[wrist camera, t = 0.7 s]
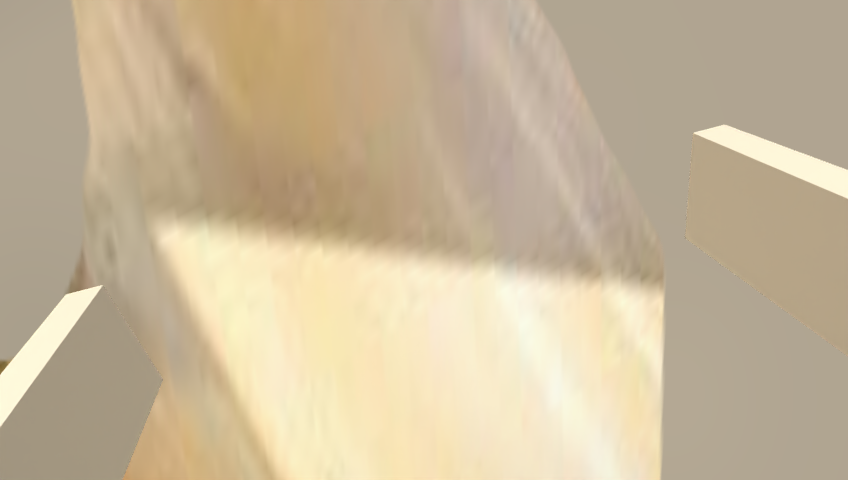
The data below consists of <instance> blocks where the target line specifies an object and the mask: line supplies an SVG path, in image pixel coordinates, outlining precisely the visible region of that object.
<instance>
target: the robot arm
mask: <svg viewBox="0 0 848 480" xmlns="http://www.w3.org/2000/svg"><path fill="white" fill-rule="evenodd" d="M685 238H686V239H687V240H688V241H690V242H691V243H692V244H694V245H695V246H696V247H698V248H699V249H701V250H702V251H703V252H705V253H706V254H707V255H709V256H710V257H712V258H713V259H714V260H716V261H717V262H718V263H720V264H721V265H723V266H724V267H725V268H727V269H728V270H729V271H731V272H732V273H734V274H735V275H736V276H738V277H739V278H741V279H742V280H743V281H745V282H746V283H747V284H749V285H750V286H751V287H753V288H754V289H756V290H757V291H758V292H760V293H761V294H762V295H764V296H765V297H767V298H768V299H769V300H771V301H772V302H773V303H775V304H776V305H778V306H779V307H780V308H782V309H783V310H785V311H786V312H787V313H789V314H790V315H791V316H793V317H794V318H796V319H797V320H798V321H800V322H801V323H803V324H804V325H805V326H806V327H808V328H809V329H811V330H812V331H813V332H815V333H816V334H817V335H819V336H820V337H822V338H823V339H825V340H826V341H827V342H828V343H830V344H831V345H833V346H834V347H835V348H837V349H838V350H839V351H841V352H842V353H844V354H845V355H846V356H848V170H846V169H843V168H841V167H838V166H835V165H832V164H830V163H827V162H824V161H822V160H819V159H816V158H814V157H811V156H808V155H805V154H803V153H800V152H797V151H795V150H792V149H789V148H786V147H784V146H781V145H778V144H775V143H773V142H770V141H767V140H765V139H762V138H759V137H757V136H754V135H751V134H748V133H746V132H743V131H740V130H738V129H735V128H732V127H730V126H727V125H722V126H718V127H714V128H710V129H706V130H702V131H698V132H695V133H693V137H692V150H691V164H690V178H689V191H688V205H687V217H686V231H685ZM162 381H163V378H162V377H161V375H160V374H159V372H158V371H157V369H156V367H155V366H154V364H153V363H152V361H151V360H150V358H149V356H148V355H147V353H146V352H145V350H144V349H143V347H142V345H141V344H140V342H139V341H138V339H137V338H136V336H135V334H134V333H133V331H132V330H131V328H130V326H129V325H128V323H127V322H126V320H125V319H124V317H123V315H122V314H121V312H120V311H119V309H118V308H117V306H116V304H115V303H114V301H113V300H112V298H111V297H110V295H109V293H108V292H107V290H106V289H105V287H104V286H103V285H101V286H97V287H93V288H90V289H86V290H82V291H78V292H74V293H70V294H66V295H65V297H64V298H63V299H62V300H61V301H60V303H59V304H58V305H57V306H56V307H55V309H54V310H53V311H52V312H51V314H50V315H49V316H48V317H47V319H46V320H45V321H44V322H43V323H42V325H41V326H40V327H39V328H38V329H37V331H36V332H35V333H34V334H33V336H32V337H31V338H30V339H29V341H28V342H27V343H26V344H25V345H24V347H23V348H22V349H21V350H20V351H19V353H18V354H17V355H16V356H15V358H14V359H13V360H12V361H11V362H10V364H9V365H8V366H7V367H6V369H5V370H4V371H3V372H2V373H1V375H0V480H122V479H123V477H124V475H125V472H126V470H127V467H128V465H129V462H130V460H131V457H132V455H133V452H134V450H135V447H136V445H137V442H138V440H139V437H140V435H141V433H142V430H143V428H144V425H145V423H146V420H147V418H148V415H149V413H150V410H151V408H152V405H153V403H154V400H155V398H156V396H157V393H158V391H159V388H160V386H161V383H162Z"/></svg>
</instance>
